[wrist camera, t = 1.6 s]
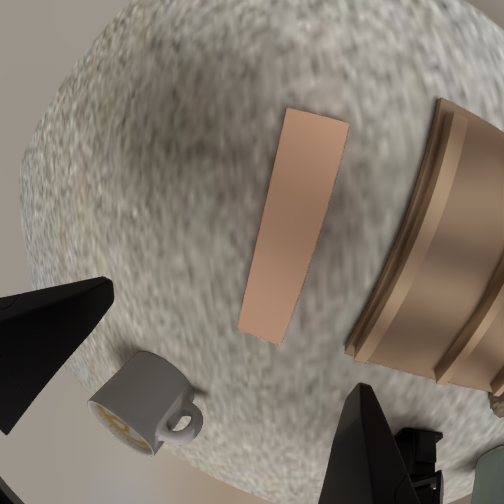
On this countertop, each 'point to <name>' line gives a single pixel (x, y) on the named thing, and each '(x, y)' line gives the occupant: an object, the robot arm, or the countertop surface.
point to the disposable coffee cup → (489, 478)
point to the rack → (449, 264)
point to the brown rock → (497, 404)
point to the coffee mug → (147, 405)
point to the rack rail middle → (473, 328)
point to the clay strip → (291, 220)
